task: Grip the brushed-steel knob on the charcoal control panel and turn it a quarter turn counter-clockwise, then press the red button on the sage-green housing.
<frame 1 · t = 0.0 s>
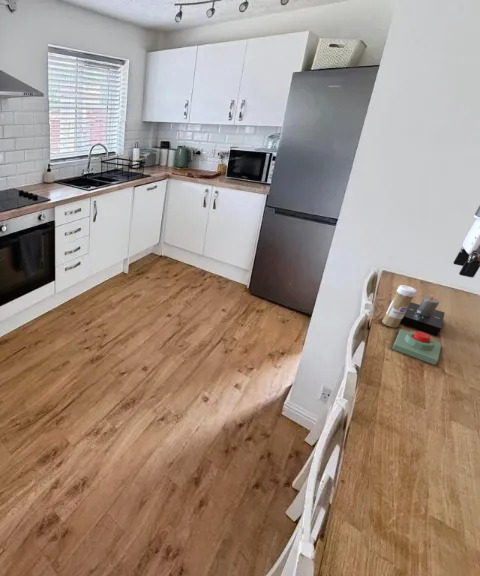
hand: (462, 270, 110), 21 cm above the table, tool pointing down, fingers open, 9 cm apart
button box: (415, 348, 109), on the table
button: (421, 337, 107), point 4 cm above the table, slide at 0.1 cm
panel: (419, 321, 123), on the table
sprinkles bottle: (389, 324, 121), on the table
dial: (427, 306, 120), point 6 cm above the table, hinge at 0.0°
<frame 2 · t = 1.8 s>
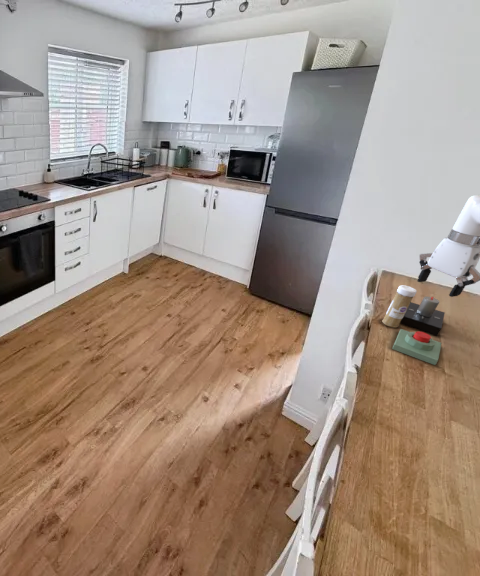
hand: (436, 288, 117), 12 cm above the table, tool pointing down, fingers open, 9 cm apart
nothing on the table moved.
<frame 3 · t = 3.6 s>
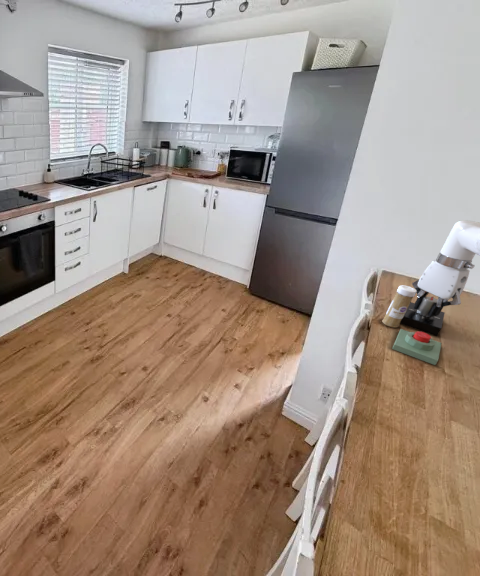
hand: (425, 311, 121), 4 cm above the table, tool pointing down, fingers closed on dial, 4 cm apart
dial: (427, 306, 120), point 6 cm above the table, hinge at 0.0°, touching gripper
everything else where it was.
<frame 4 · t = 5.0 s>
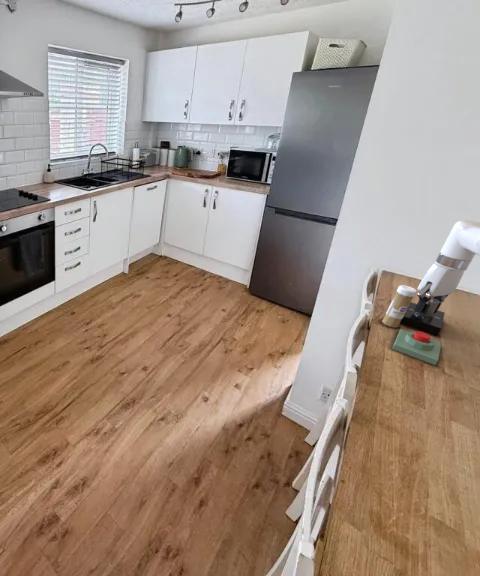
hand: (424, 311, 121), 4 cm above the table, tool pointing down, fingers closed on dial, 4 cm apart
dial: (427, 306, 120), point 6 cm above the table, hinge at 90.3°, touching gripper
everything else where it was.
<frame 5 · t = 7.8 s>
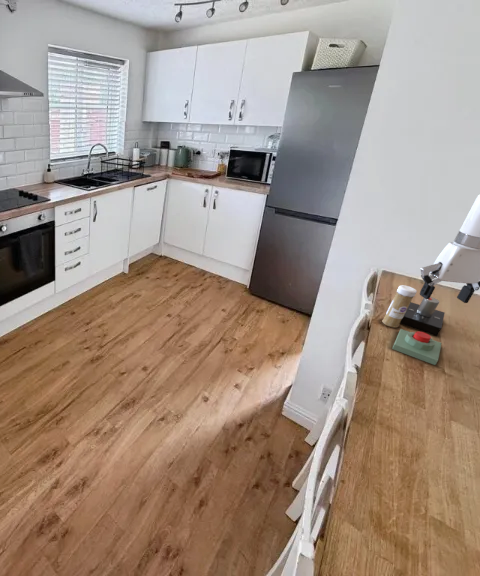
hand: (442, 298, 103), 16 cm above the table, tool pointing down, fingers open, 9 cm apart
dial: (427, 306, 120), point 6 cm above the table, hinge at 90.0°
everything else where it was.
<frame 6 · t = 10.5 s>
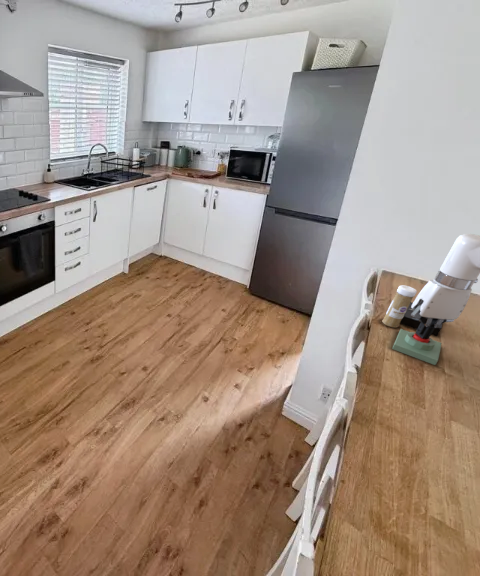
hand: (421, 335, 107), 4 cm above the table, tool pointing down, fingers closed
button: (421, 338, 107), point 3 cm above the table, slide at -0.5 cm, touching gripper
everything else where it was.
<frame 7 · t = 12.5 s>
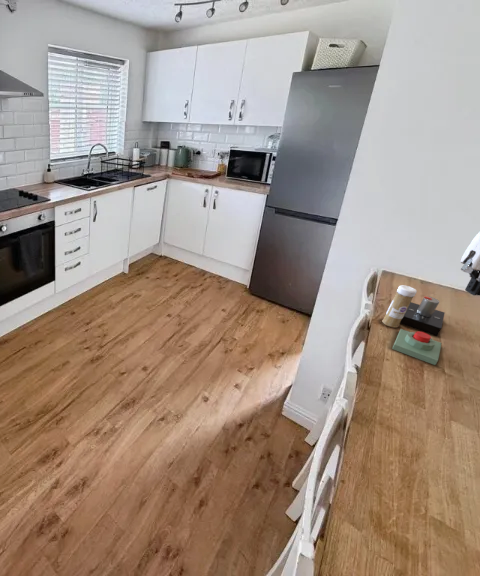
hand: (472, 292, 98), 20 cm above the table, tool pointing down, fingers closed
button: (421, 337, 107), point 4 cm above the table, slide at 0.1 cm
everything else where it was.
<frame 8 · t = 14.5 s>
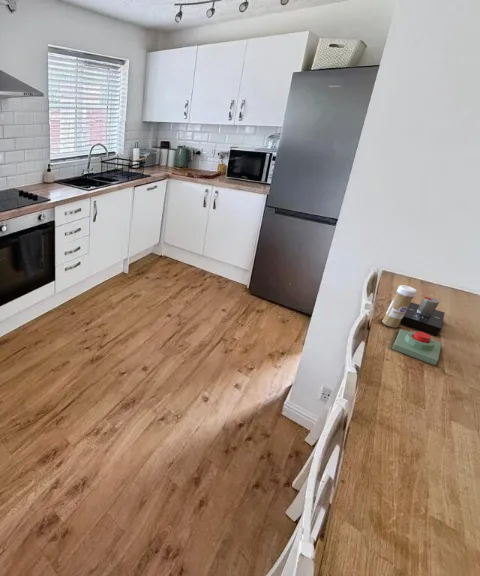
nothing on the table moved.
at the end: dial at +90° (first picture: +0°); button pushed in 1.1 cm at the most during the clip, back to where it started at the end; button slide at 0.1 cm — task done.
